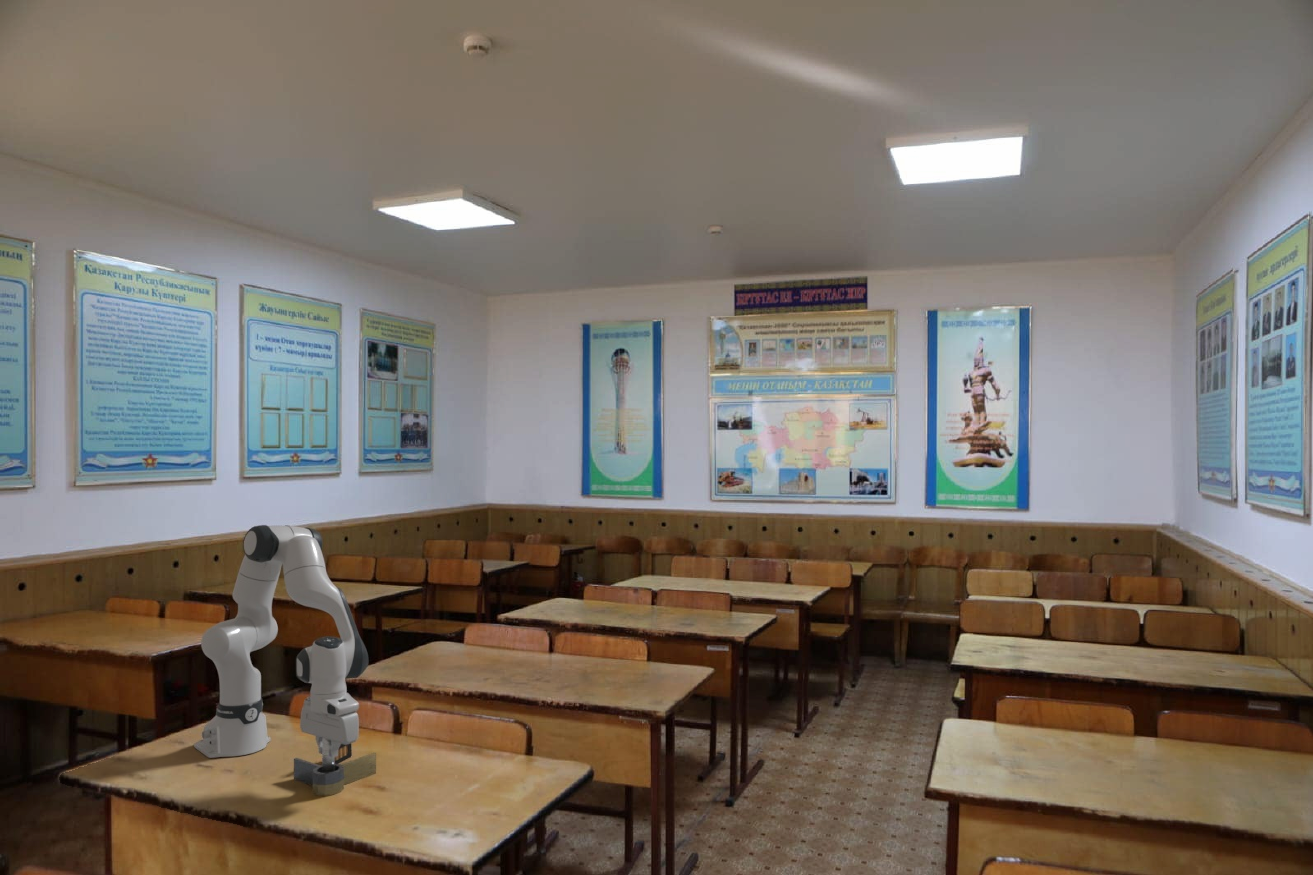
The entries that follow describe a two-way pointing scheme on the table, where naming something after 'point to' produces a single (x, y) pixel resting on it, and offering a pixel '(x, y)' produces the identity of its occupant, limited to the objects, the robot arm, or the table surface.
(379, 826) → the table surface
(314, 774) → the steel leaf
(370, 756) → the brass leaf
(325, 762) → the hinge pin
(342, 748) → the ammunition clip
